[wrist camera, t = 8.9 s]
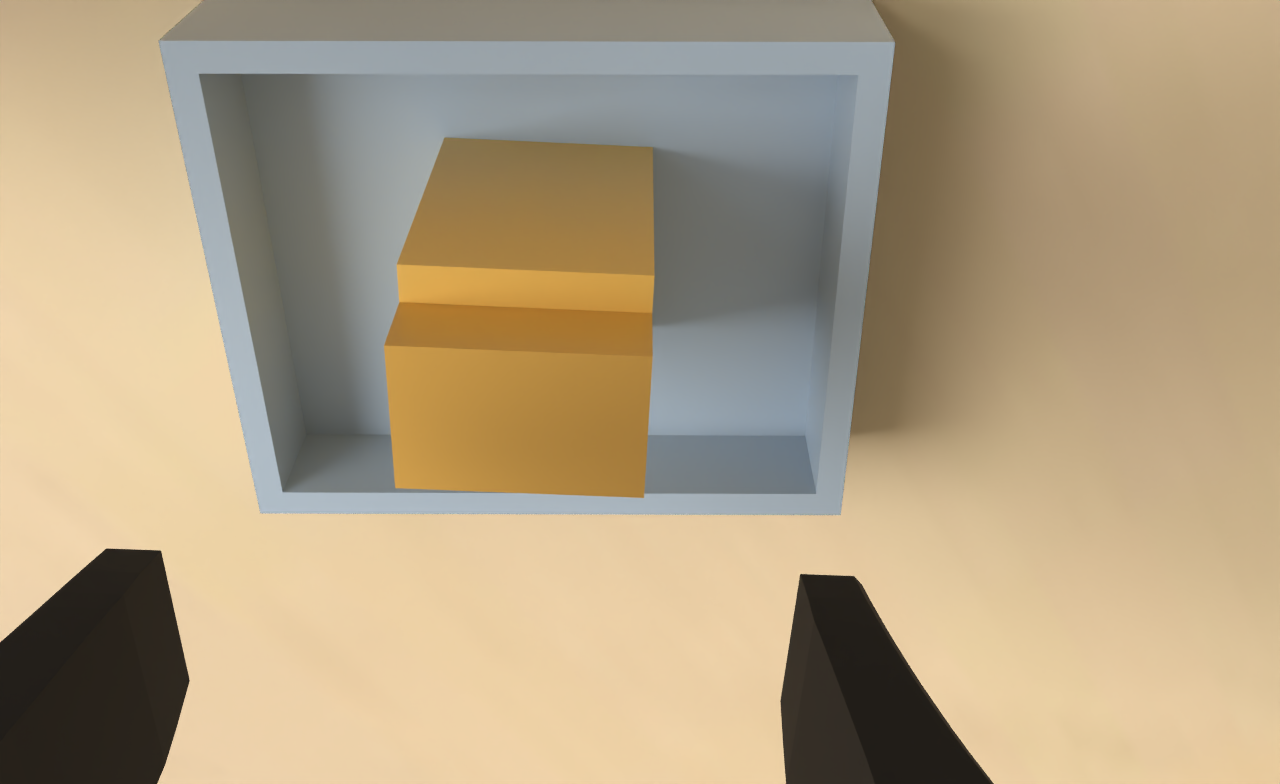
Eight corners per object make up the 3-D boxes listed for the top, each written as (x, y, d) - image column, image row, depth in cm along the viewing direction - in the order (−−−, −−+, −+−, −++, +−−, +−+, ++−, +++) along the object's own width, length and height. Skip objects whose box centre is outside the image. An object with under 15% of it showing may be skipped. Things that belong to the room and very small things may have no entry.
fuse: (452, 319, 23) (397, 520, 18) (444, 138, 21) (381, 306, 16) (642, 327, 23) (642, 529, 18) (653, 147, 21) (655, 318, 16)
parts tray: (293, 437, 25) (260, 513, 23) (209, -5, 20) (158, 40, 18) (824, 438, 25) (840, 515, 23) (869, -4, 20) (895, 42, 18)
